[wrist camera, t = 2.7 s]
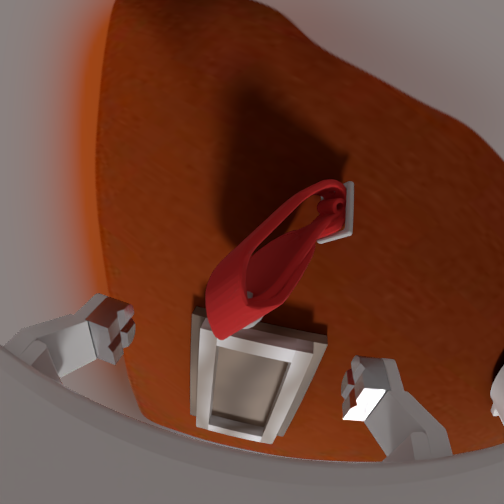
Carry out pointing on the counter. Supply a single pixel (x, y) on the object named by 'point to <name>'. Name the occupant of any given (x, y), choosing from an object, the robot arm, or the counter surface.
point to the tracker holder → (274, 260)
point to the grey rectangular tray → (250, 377)
